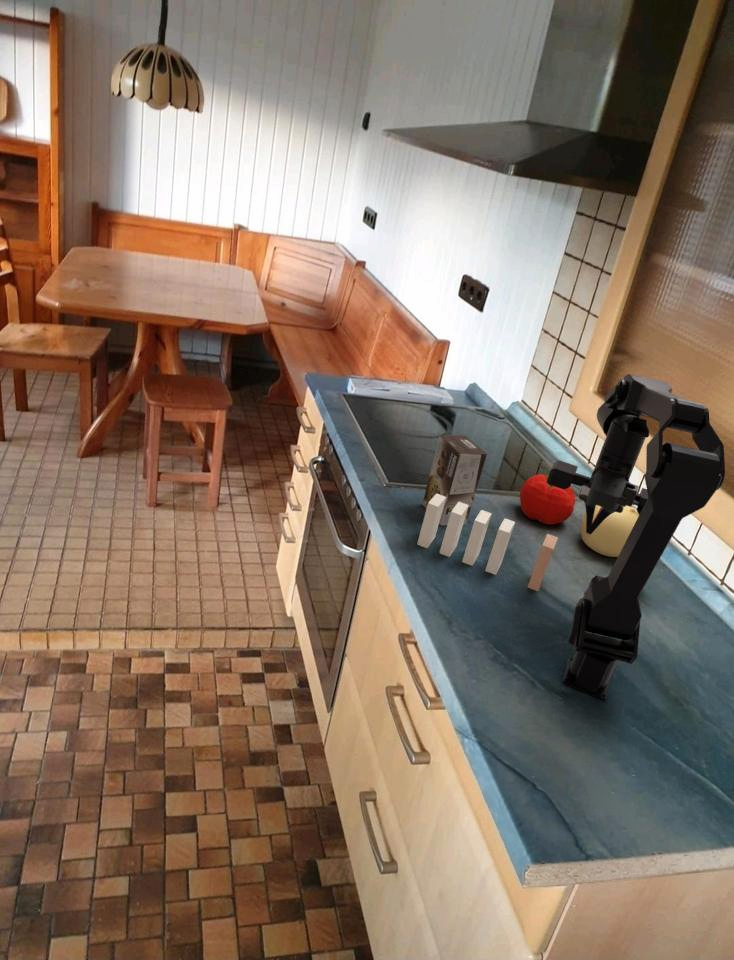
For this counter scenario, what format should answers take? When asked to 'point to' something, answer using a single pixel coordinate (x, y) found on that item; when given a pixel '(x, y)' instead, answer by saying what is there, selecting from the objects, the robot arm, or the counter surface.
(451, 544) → the domino
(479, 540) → the domino
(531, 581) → the domino
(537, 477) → the tomato
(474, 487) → the coffee box
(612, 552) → the pale yellow round lump
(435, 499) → the domino
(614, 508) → the robot arm
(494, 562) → the domino
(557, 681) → the counter surface
